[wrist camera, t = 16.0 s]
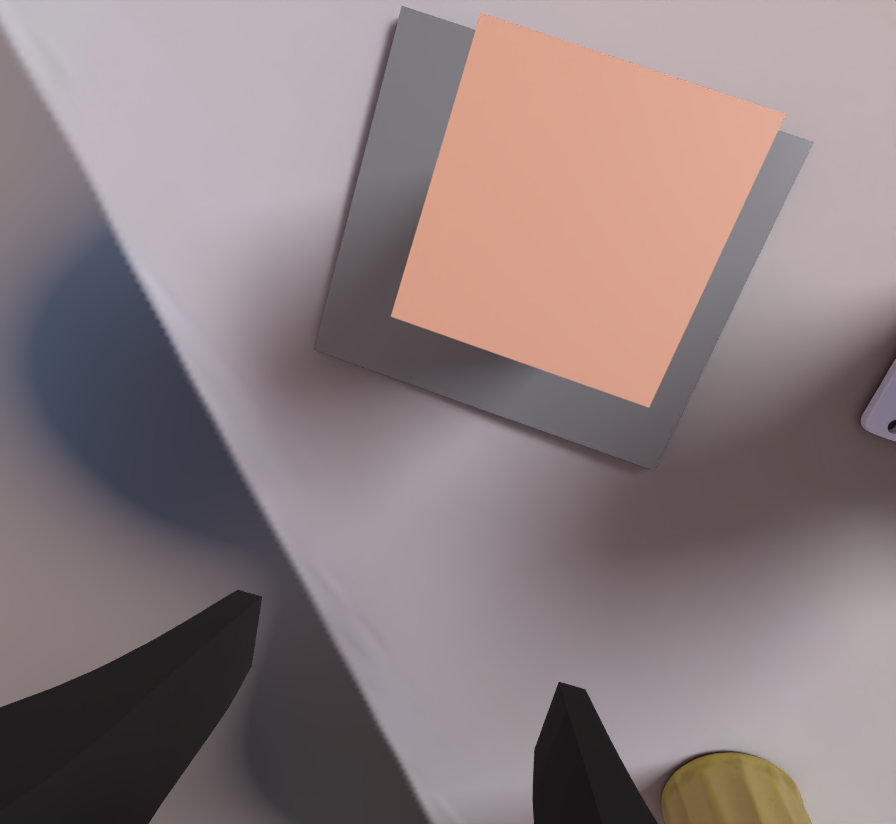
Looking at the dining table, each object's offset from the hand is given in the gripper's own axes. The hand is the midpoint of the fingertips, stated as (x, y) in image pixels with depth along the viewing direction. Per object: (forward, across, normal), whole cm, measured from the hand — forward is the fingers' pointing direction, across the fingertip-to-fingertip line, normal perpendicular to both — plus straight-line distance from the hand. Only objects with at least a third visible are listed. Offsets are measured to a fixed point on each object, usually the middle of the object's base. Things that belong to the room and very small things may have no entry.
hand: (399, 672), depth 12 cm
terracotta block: (+5, -1, -10) cm, 11 cm away
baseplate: (+10, -1, -10) cm, 14 cm away
